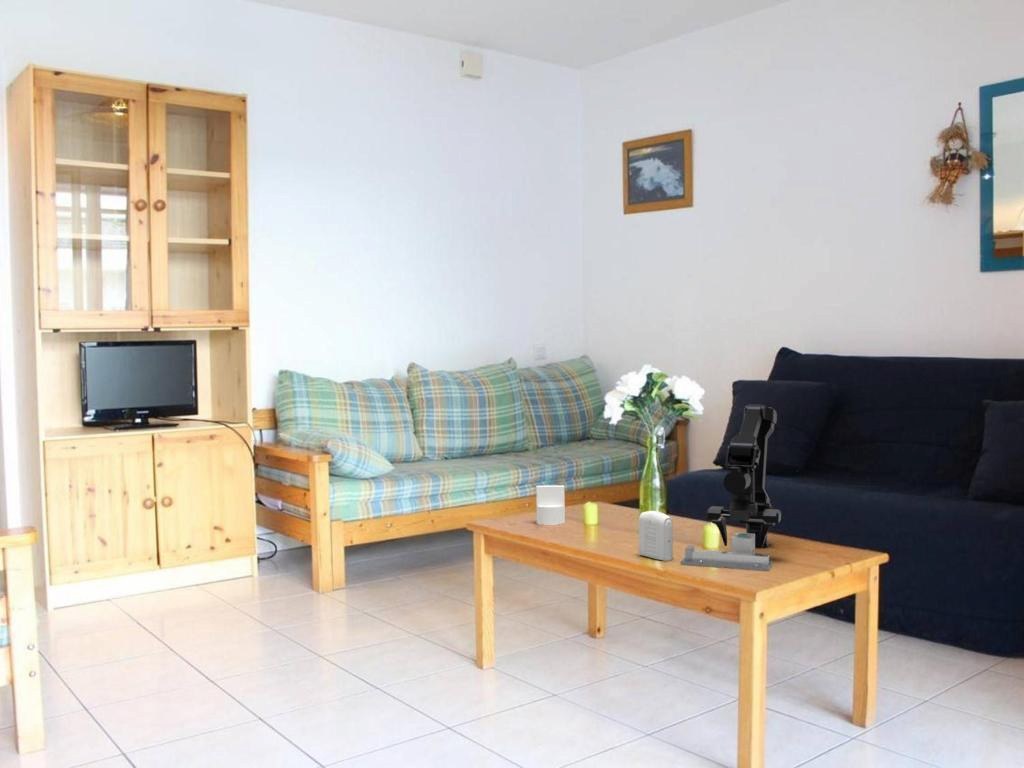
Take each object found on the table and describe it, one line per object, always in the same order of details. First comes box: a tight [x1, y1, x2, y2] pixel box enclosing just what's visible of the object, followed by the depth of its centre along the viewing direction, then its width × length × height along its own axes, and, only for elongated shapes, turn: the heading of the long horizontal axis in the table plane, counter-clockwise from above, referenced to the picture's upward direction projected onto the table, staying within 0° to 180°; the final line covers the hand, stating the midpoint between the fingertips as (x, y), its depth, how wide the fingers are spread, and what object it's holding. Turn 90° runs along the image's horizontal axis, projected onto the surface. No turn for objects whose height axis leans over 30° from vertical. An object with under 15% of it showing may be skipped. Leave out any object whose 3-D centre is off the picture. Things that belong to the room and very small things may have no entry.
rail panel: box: [680, 544, 773, 572], centre depth 249 cm, size 8×22×4 cm, turn 68°
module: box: [731, 532, 756, 553], centre depth 256 cm, size 7×5×7 cm
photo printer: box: [638, 510, 674, 562], centre depth 258 cm, size 10×4×12 cm, turn 37°
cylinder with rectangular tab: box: [535, 484, 566, 525], centre depth 308 cm, size 9×9×12 cm
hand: (743, 547), depth 256 cm, fingers open, 9 cm apart
